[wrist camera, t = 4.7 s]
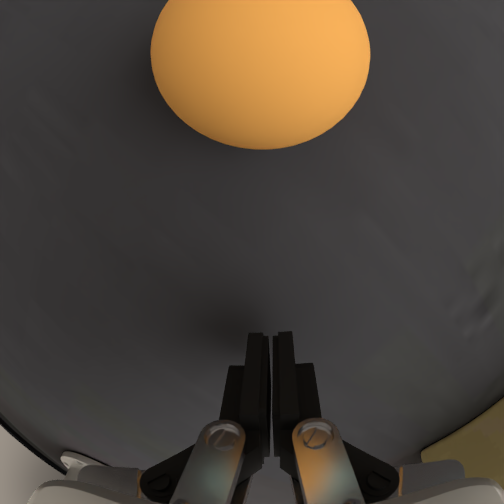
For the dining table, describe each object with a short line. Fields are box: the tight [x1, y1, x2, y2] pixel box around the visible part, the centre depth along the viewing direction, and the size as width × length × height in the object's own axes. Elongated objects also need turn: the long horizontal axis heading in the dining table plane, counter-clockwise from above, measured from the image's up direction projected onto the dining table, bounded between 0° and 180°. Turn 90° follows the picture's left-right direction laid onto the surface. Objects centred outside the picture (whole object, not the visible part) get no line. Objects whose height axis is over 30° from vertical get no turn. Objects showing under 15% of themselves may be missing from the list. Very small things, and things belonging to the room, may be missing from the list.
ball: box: [151, 0, 370, 149], centre depth 6 cm, size 6×6×6 cm
